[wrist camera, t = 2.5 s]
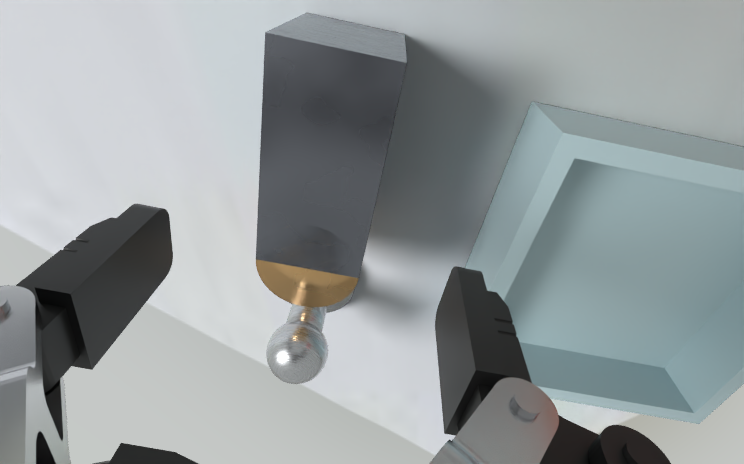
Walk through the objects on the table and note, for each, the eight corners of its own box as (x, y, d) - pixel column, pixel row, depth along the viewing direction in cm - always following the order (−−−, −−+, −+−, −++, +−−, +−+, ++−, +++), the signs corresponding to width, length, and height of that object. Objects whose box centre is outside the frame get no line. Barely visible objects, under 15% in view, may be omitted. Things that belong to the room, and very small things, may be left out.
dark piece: (287, 221, 22) (254, 297, 17) (306, 12, 16) (265, 32, 11) (361, 235, 22) (350, 314, 17) (404, 34, 16) (406, 62, 11)
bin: (441, 325, 25) (447, 380, 22) (531, 101, 18) (563, 132, 14) (660, 365, 26) (699, 424, 23) (837, 166, 18) (934, 210, 15)
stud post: (277, 296, 25) (240, 398, 19) (282, 237, 22) (241, 333, 16) (349, 309, 25) (333, 414, 19) (361, 252, 23) (348, 352, 17)
